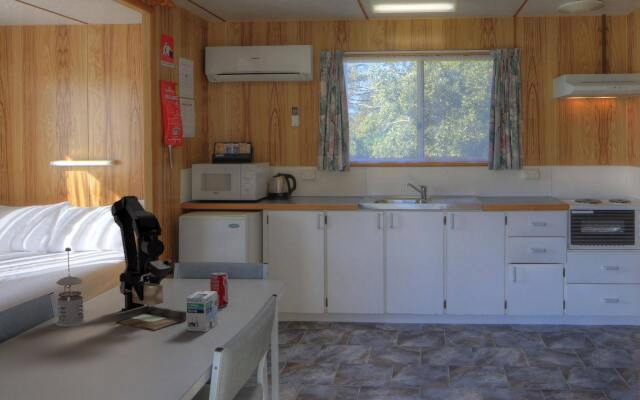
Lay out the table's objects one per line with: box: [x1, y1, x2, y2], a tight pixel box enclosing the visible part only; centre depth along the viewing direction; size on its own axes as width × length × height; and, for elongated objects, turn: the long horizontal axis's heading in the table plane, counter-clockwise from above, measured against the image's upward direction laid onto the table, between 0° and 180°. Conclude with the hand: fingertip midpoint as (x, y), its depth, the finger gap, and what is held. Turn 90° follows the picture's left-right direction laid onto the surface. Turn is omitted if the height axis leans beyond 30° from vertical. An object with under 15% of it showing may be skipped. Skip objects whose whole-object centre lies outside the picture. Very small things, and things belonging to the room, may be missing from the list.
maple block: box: [132, 282, 164, 306], centre depth 226 cm, size 5×9×6 cm, turn 57°
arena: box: [115, 305, 187, 332], centre depth 225 cm, size 18×14×3 cm
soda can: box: [209, 271, 229, 308], centre depth 245 cm, size 6×6×12 cm
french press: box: [55, 247, 87, 328], centre depth 224 cm, size 10×12×25 cm
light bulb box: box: [186, 290, 219, 333], centre depth 217 cm, size 11×7×11 cm, turn 168°
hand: (147, 299), depth 226 cm, fingers closed on maple block, 5 cm apart
